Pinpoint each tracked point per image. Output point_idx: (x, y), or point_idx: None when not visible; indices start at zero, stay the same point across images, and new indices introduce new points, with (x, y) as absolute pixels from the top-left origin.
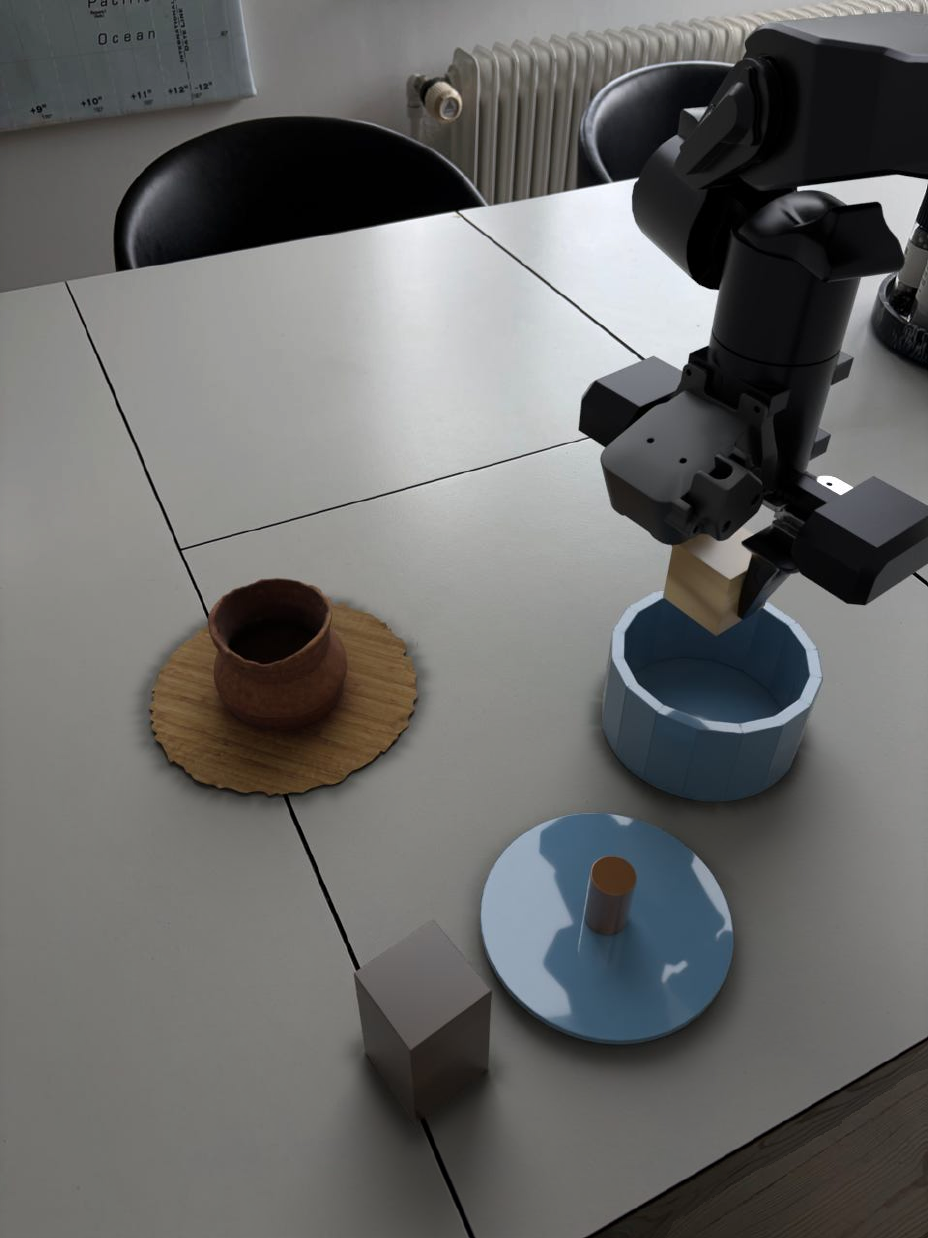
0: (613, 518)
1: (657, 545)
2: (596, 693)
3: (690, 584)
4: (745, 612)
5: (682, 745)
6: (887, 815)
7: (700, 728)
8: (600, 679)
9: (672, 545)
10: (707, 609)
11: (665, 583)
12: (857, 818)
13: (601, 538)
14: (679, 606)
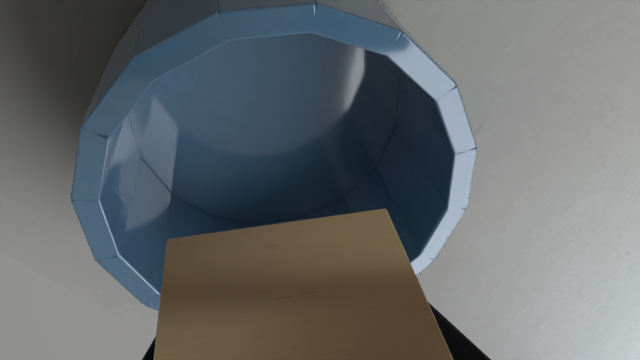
0: (612, 238)
1: (538, 254)
2: (410, 17)
3: (314, 309)
4: (146, 356)
5: (159, 23)
6: (6, 218)
7: (132, 64)
8: (427, 42)
9: (480, 356)
10: (220, 284)
11: (401, 244)
12: (15, 185)
13: (604, 207)
14: (321, 223)
